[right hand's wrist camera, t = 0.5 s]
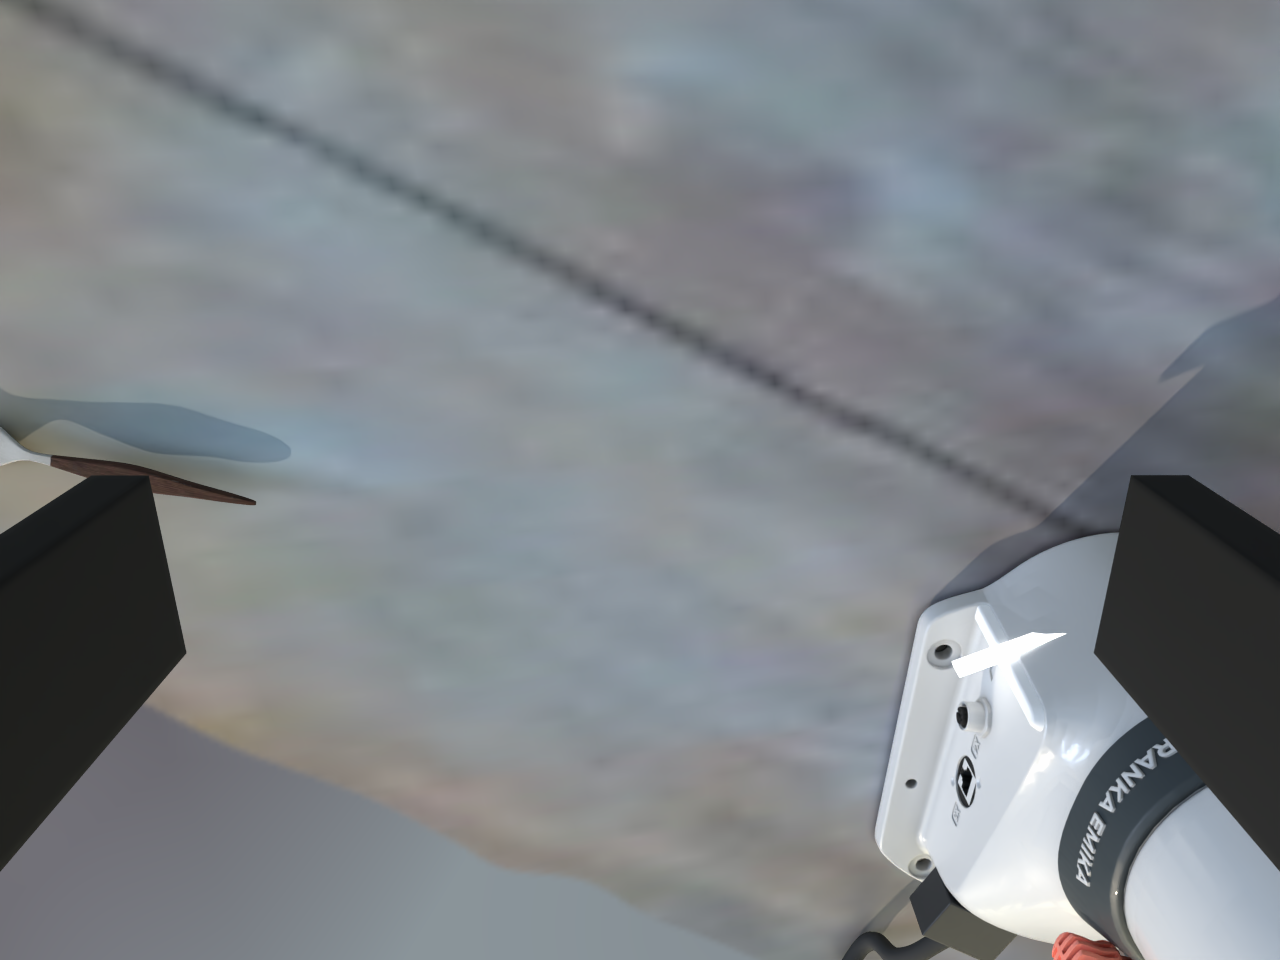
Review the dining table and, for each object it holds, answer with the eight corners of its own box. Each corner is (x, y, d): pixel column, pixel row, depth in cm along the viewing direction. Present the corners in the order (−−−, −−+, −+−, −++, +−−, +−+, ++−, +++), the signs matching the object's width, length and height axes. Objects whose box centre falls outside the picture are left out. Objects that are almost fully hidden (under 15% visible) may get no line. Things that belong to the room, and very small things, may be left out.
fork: (257, 524, 43) (240, 542, 41) (-97, 450, 41) (-132, 466, 40) (262, 473, 42) (245, 490, 40) (-101, 396, 40) (-136, 409, 39)
